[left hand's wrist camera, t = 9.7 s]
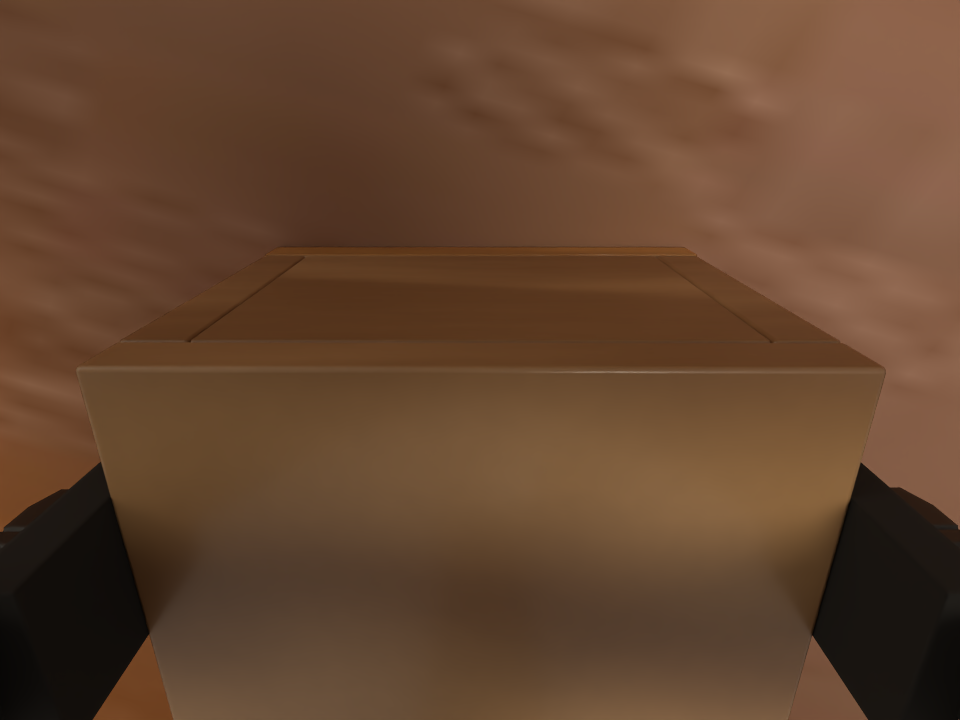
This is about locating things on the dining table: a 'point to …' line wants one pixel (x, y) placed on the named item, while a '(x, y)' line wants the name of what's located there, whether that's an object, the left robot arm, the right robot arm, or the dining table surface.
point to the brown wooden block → (480, 485)
